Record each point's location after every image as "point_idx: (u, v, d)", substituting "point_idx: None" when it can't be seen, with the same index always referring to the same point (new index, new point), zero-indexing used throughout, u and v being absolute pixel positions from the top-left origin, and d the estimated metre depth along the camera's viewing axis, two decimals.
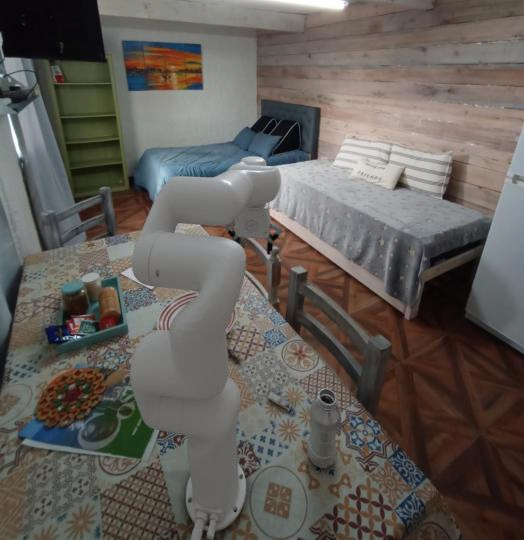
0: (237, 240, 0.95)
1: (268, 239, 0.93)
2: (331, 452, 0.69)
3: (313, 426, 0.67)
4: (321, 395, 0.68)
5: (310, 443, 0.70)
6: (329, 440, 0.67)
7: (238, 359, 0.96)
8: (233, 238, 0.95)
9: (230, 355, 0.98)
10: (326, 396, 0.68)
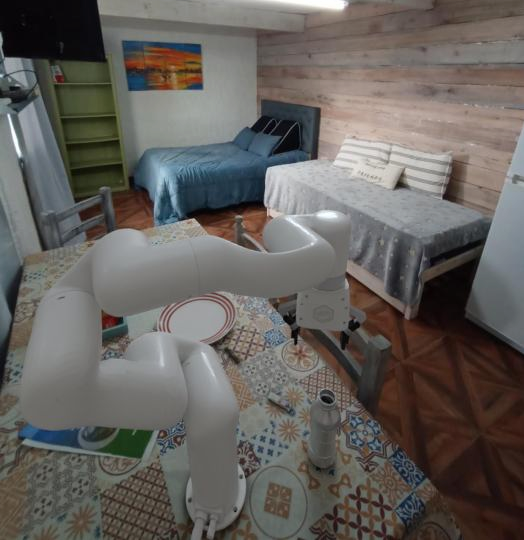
0: (297, 329, 0.64)
1: (345, 330, 0.62)
2: (331, 452, 0.69)
3: (313, 426, 0.67)
4: (321, 395, 0.68)
5: (310, 443, 0.70)
6: (329, 440, 0.67)
7: (238, 359, 0.96)
8: (291, 327, 0.64)
9: (230, 355, 0.98)
10: (326, 396, 0.68)
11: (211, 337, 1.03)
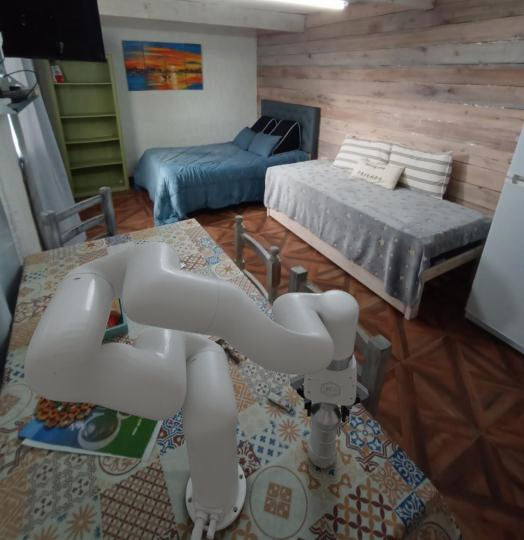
0: (310, 403, 0.66)
1: None
2: (331, 452, 0.69)
3: (313, 426, 0.67)
4: None
5: (310, 443, 0.70)
6: (329, 440, 0.67)
7: (238, 359, 0.96)
8: (305, 400, 0.66)
9: (230, 355, 0.98)
10: None
11: (211, 337, 1.03)
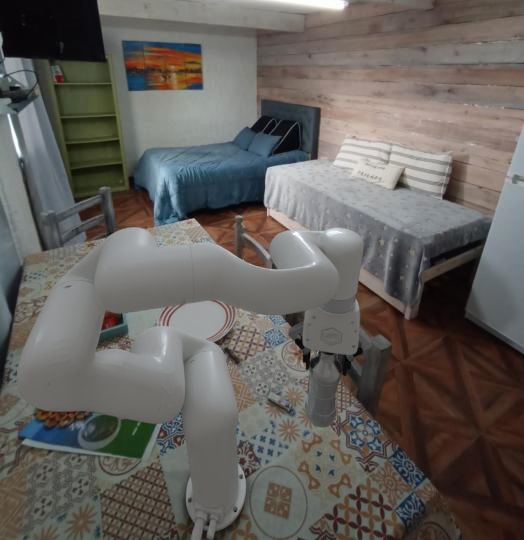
0: (309, 354, 0.61)
1: (347, 355, 0.60)
2: (331, 410, 0.65)
3: (312, 380, 0.63)
4: None
5: (308, 401, 0.66)
6: (329, 396, 0.63)
7: (238, 359, 0.96)
8: (303, 351, 0.62)
9: (230, 355, 0.98)
10: None
11: (211, 337, 1.03)
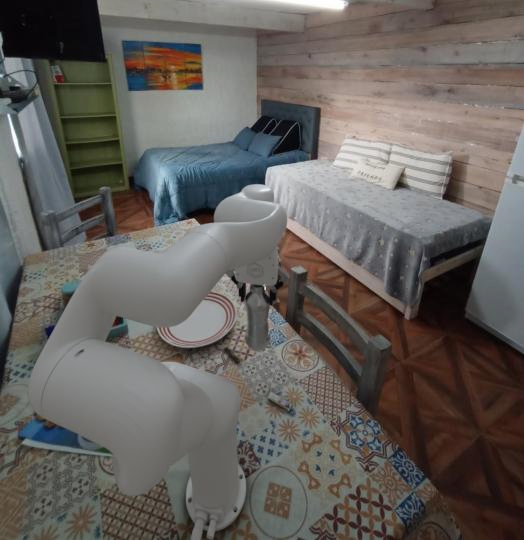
0: (242, 288, 0.77)
1: (271, 287, 0.75)
2: (263, 335, 0.80)
3: (246, 310, 0.79)
4: (254, 285, 0.79)
5: (246, 329, 0.82)
6: (260, 322, 0.79)
7: (238, 359, 0.96)
8: (238, 286, 0.77)
9: (230, 355, 0.98)
10: (258, 286, 0.79)
11: (211, 337, 1.03)
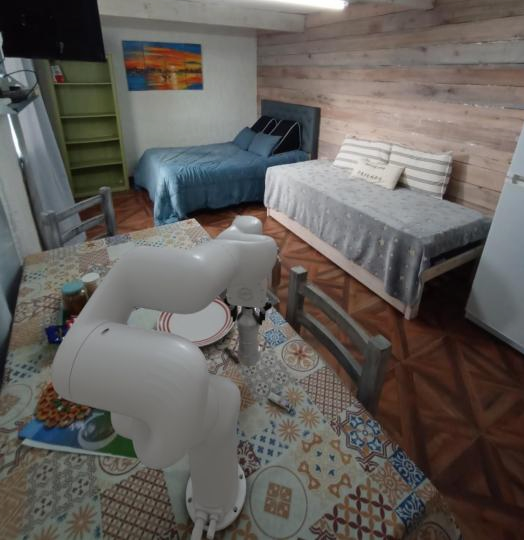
0: (234, 310, 0.83)
1: (260, 309, 0.82)
2: (254, 352, 0.87)
3: (238, 329, 0.85)
4: None
5: (238, 347, 0.88)
6: (250, 340, 0.85)
7: (238, 359, 0.96)
8: (230, 308, 0.84)
9: (230, 355, 0.98)
10: (249, 307, 0.86)
11: (211, 337, 1.03)
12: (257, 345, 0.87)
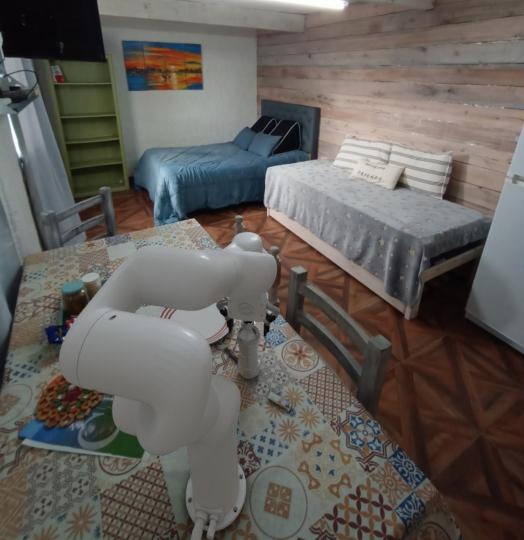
0: (230, 320, 0.85)
1: (265, 321, 0.83)
2: (254, 365, 0.89)
3: (238, 343, 0.87)
4: None
5: (239, 360, 0.90)
6: (250, 354, 0.87)
7: (238, 359, 0.96)
8: (225, 318, 0.85)
9: (230, 355, 0.98)
10: (249, 321, 0.88)
11: (211, 337, 1.03)
12: (257, 358, 0.89)
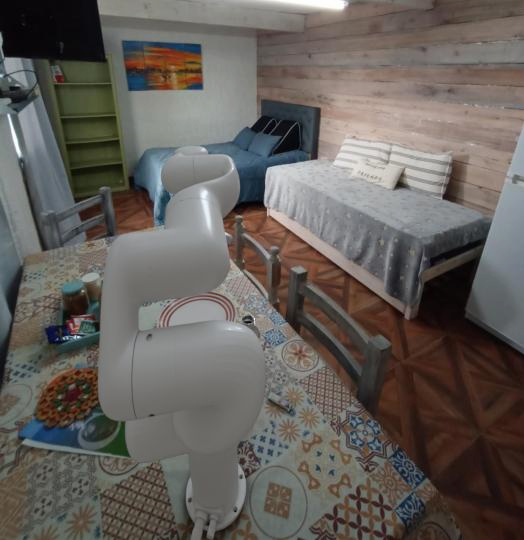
0: None
1: None
2: None
3: None
4: (245, 320, 0.87)
5: None
6: None
7: None
8: None
9: None
10: (249, 321, 0.88)
11: None
12: None
